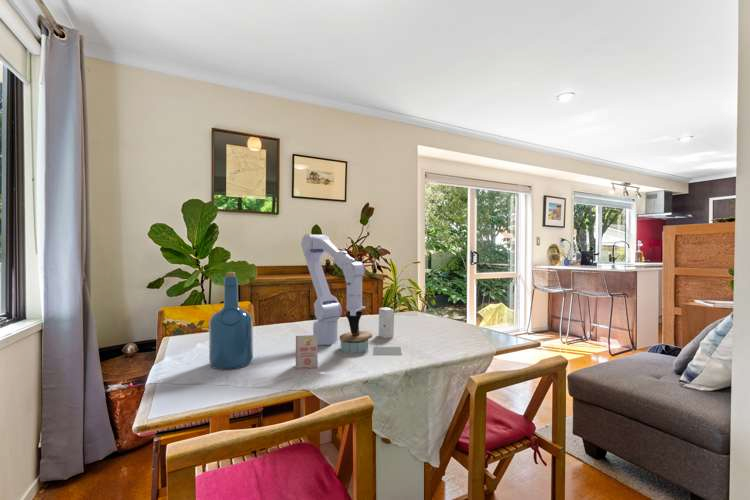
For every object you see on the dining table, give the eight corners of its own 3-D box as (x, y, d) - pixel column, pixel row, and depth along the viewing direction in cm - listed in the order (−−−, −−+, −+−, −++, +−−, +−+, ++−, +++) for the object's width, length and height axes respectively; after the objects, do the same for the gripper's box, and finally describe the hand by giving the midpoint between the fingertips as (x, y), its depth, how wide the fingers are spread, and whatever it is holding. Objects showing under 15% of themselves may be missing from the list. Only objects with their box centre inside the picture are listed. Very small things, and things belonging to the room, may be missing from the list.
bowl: (339, 354, 131) (339, 342, 131) (342, 346, 141) (342, 335, 141) (367, 354, 131) (367, 342, 130) (368, 346, 141) (368, 335, 140)
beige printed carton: (296, 365, 119) (296, 334, 119) (317, 364, 120) (317, 333, 120) (295, 369, 115) (295, 337, 115) (317, 367, 117) (317, 336, 116)
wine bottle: (210, 360, 124) (209, 271, 124) (252, 355, 129) (251, 270, 128) (207, 373, 111) (206, 274, 111) (253, 368, 116) (253, 273, 115)
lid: (337, 343, 130) (335, 329, 130) (342, 334, 142) (341, 321, 142) (370, 340, 129) (369, 327, 129) (373, 332, 141) (372, 319, 141)
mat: (373, 356, 128) (373, 355, 127) (373, 348, 138) (373, 346, 137) (402, 356, 127) (402, 355, 127) (400, 348, 137) (400, 346, 137)
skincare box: (377, 336, 155) (377, 307, 155) (387, 335, 157) (387, 306, 157) (385, 339, 150) (385, 310, 149) (394, 338, 152) (394, 309, 152)
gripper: (364, 297, 128) (364, 336, 128) (366, 292, 142) (366, 327, 143) (344, 297, 128) (344, 336, 128) (347, 292, 142) (347, 327, 143)
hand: (354, 331), depth 135 cm, fingers closed on lid, 3 cm apart
